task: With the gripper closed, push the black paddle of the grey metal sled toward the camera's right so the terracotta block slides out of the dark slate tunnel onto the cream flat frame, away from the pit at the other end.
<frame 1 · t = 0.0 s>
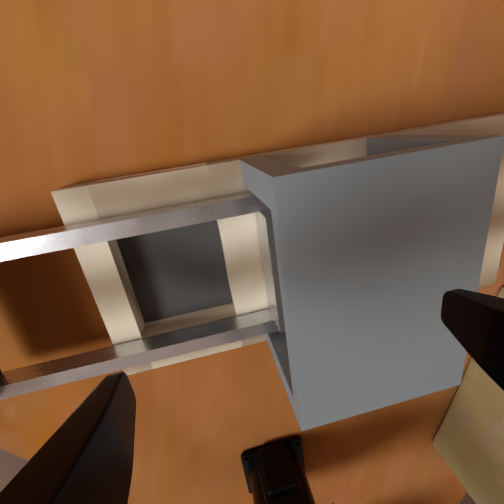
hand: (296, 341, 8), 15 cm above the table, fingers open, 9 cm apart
cream flat frame: (311, 238, 24), on the table
tunnel: (348, 270, 18), on the cream flat frame, point 6 cm above the table
sled: (181, 301, 18), point 5 cm above the table, slide at 0.0 cm
cheese: (478, 367, 34), on the table
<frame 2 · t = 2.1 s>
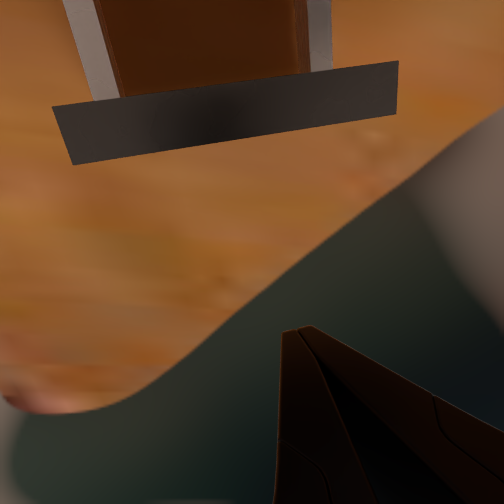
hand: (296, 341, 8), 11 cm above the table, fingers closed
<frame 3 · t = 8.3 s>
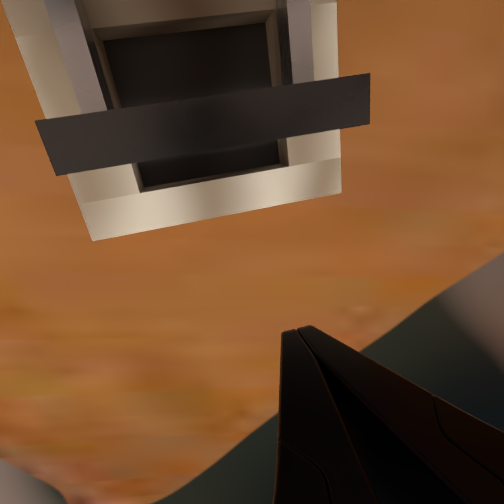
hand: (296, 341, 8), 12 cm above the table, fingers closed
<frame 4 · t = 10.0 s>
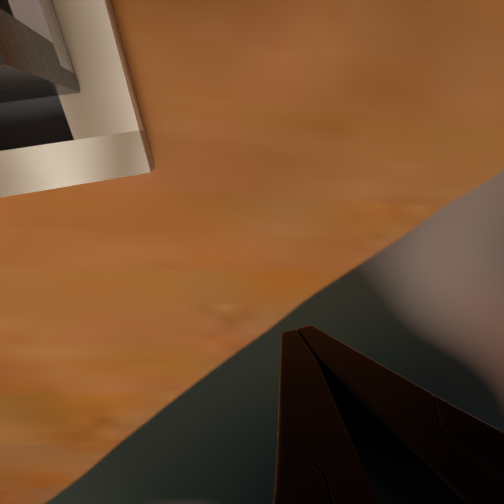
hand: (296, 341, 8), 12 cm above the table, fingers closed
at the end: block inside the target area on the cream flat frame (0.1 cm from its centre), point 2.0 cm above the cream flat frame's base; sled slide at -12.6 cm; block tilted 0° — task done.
